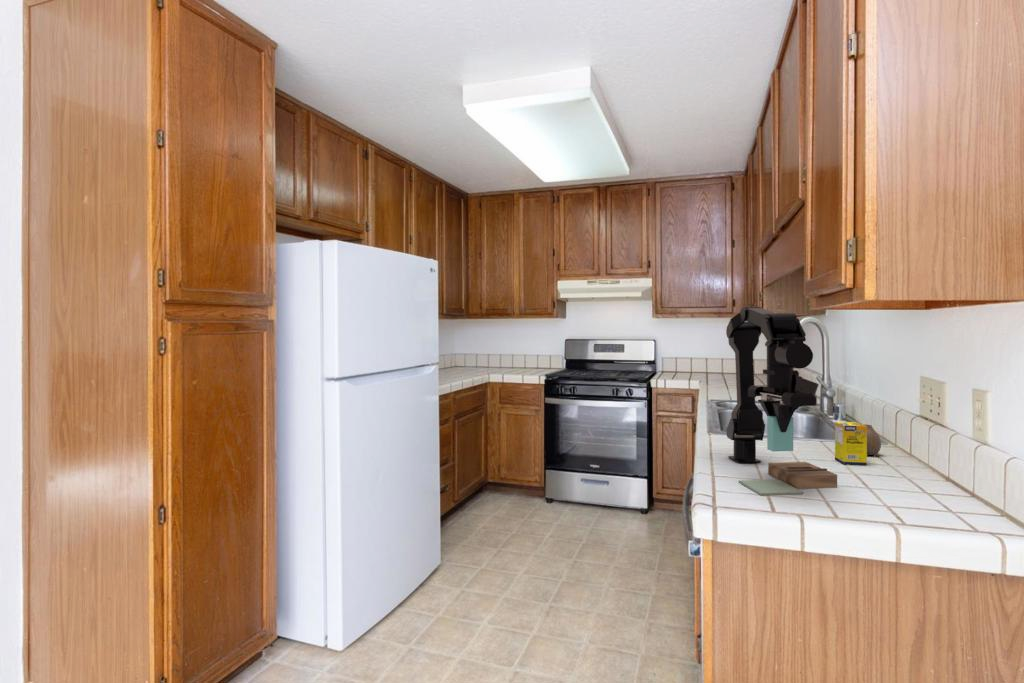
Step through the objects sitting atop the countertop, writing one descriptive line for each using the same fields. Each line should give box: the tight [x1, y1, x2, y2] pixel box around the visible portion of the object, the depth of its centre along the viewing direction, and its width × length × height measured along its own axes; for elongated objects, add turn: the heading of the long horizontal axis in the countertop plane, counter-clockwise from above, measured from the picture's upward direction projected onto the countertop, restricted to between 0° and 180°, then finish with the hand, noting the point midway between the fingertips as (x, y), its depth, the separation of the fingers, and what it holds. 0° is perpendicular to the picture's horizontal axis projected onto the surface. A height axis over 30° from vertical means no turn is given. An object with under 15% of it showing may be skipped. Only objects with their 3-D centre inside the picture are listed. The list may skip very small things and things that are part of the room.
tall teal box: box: [766, 415, 794, 453], centre depth 125 cm, size 2×5×8 cm, turn 95°
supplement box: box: [834, 421, 868, 466], centre depth 146 cm, size 6×6×11 cm
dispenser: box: [767, 461, 838, 490], centre depth 129 cm, size 12×10×3 cm
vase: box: [862, 423, 882, 456], centre depth 155 cm, size 7×7×9 cm
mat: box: [738, 478, 804, 496], centre depth 124 cm, size 10×10×1 cm
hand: (780, 431), depth 125 cm, fingers closed on tall teal box, 2 cm apart
